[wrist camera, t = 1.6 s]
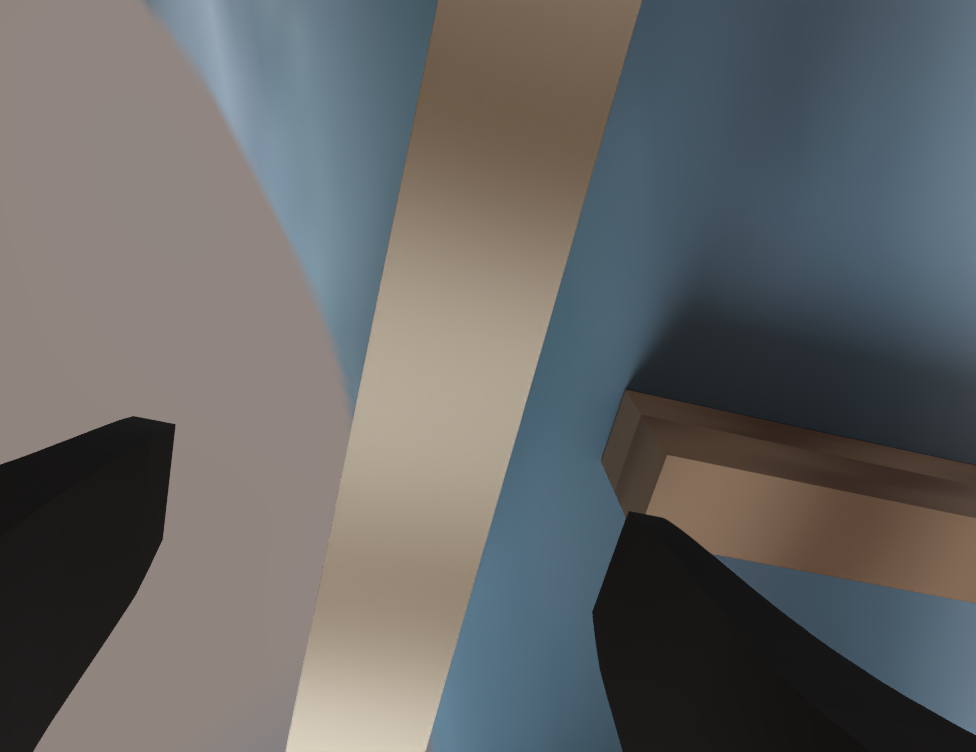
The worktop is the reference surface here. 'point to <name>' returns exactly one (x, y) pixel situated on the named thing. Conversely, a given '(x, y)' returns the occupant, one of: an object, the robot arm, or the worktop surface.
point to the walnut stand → (797, 496)
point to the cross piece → (453, 352)
